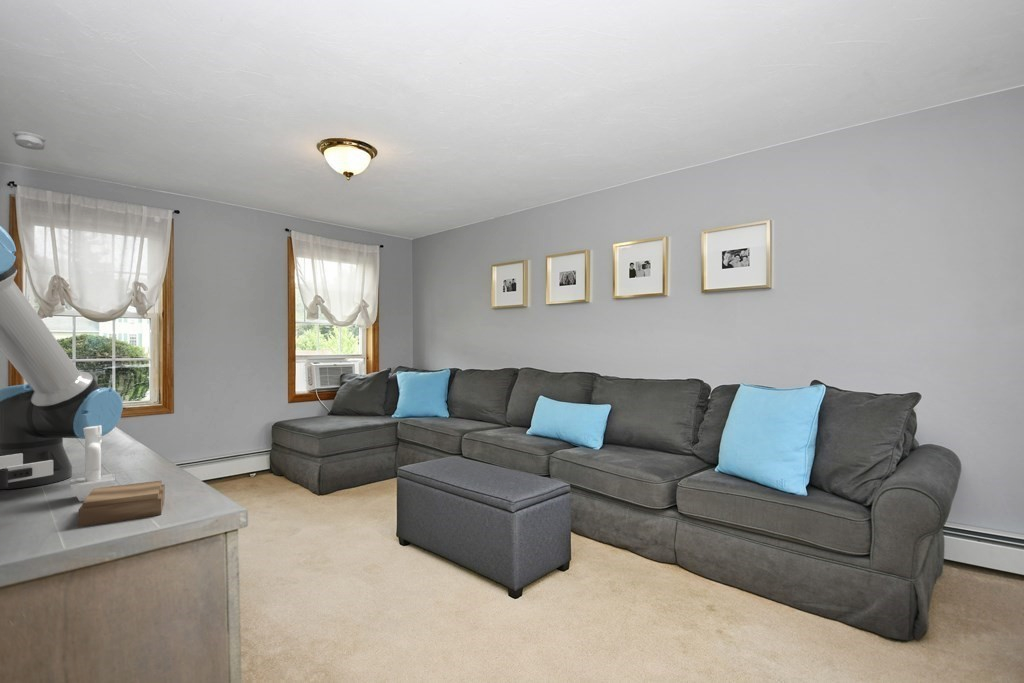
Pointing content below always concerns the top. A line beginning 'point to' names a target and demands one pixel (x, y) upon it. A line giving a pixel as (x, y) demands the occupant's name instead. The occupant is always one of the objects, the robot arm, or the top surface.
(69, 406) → the robot arm
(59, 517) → the top surface
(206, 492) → the top surface
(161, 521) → the top surface
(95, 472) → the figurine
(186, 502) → the top surface
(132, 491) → the plinth
